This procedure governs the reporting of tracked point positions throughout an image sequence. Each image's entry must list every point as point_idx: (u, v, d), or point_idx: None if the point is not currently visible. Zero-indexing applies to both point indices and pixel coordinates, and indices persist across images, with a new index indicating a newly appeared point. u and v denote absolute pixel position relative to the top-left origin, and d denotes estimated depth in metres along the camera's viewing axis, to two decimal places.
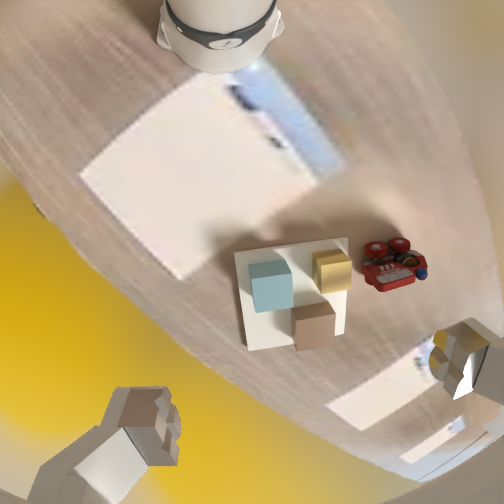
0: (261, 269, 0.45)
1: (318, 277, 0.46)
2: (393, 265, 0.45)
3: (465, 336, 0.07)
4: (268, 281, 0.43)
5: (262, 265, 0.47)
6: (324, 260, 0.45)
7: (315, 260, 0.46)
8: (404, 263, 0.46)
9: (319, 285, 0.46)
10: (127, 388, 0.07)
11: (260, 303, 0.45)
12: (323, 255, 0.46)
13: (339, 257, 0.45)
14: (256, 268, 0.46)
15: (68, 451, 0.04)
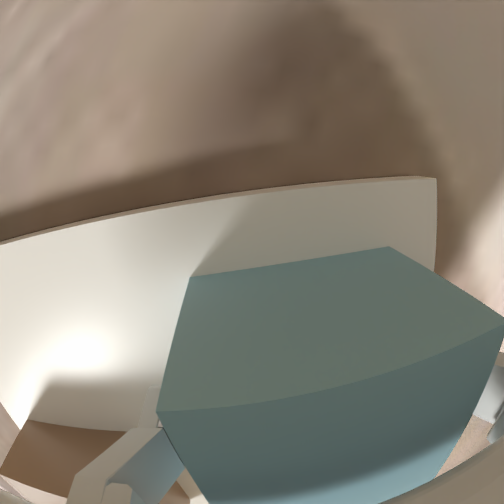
0: None
1: None
2: None
3: None
4: (448, 425, 0.04)
5: None
6: None
7: None
8: None
9: None
10: None
11: (283, 439, 0.04)
12: None
13: None
14: None
15: (103, 456, 0.04)
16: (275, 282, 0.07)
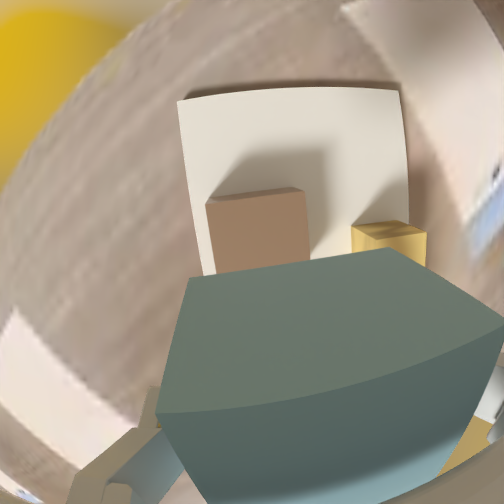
0: None
1: (390, 231, 0.22)
2: None
3: None
4: (449, 426, 0.04)
5: None
6: None
7: (402, 224, 0.24)
8: None
9: (381, 235, 0.22)
10: None
11: (282, 441, 0.04)
12: None
13: None
14: None
15: (103, 456, 0.04)
16: (275, 283, 0.07)
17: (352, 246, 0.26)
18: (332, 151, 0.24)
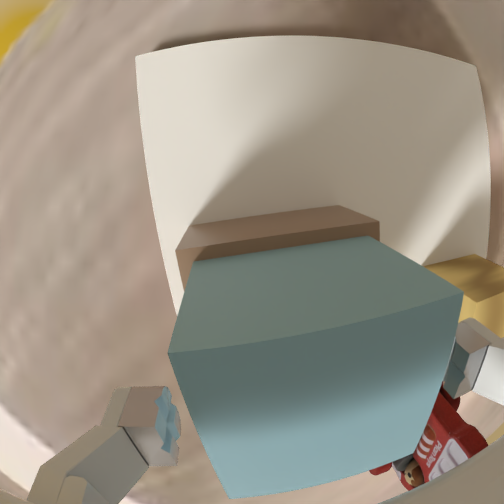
0: None
1: (484, 281, 0.12)
2: None
3: (465, 336, 0.07)
4: (419, 388, 0.06)
5: None
6: None
7: (489, 263, 0.13)
8: None
9: (477, 289, 0.11)
10: (127, 388, 0.07)
11: (268, 381, 0.05)
12: None
13: None
14: None
15: (67, 451, 0.04)
16: (266, 263, 0.08)
17: None
18: (401, 146, 0.13)
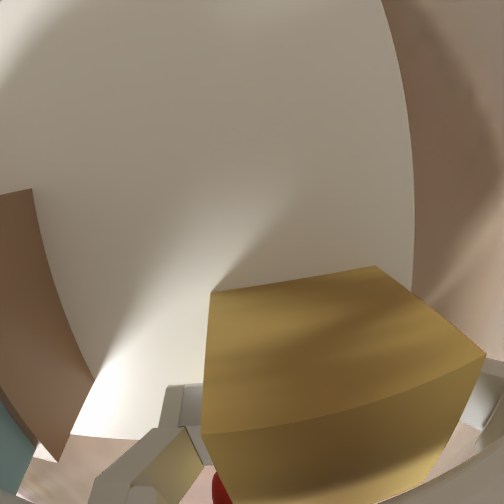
0: None
1: (326, 351, 0.05)
2: None
3: None
4: None
5: None
6: None
7: (392, 292, 0.07)
8: None
9: (266, 382, 0.05)
10: (180, 386, 0.07)
11: None
12: None
13: None
14: None
15: (123, 458, 0.05)
16: None
17: None
18: (133, 65, 0.06)
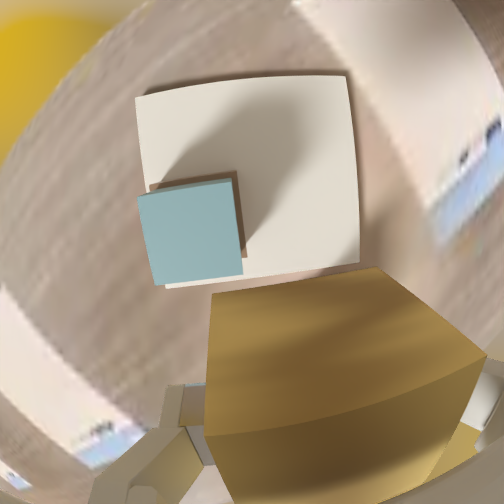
0: (234, 205, 0.21)
1: (328, 353, 0.05)
2: None
3: None
4: (223, 222, 0.18)
5: None
6: None
7: (393, 294, 0.07)
8: None
9: (269, 383, 0.05)
10: (180, 385, 0.07)
11: (163, 207, 0.18)
12: None
13: None
14: (233, 195, 0.21)
15: (123, 458, 0.05)
16: None
17: None
18: (274, 136, 0.25)
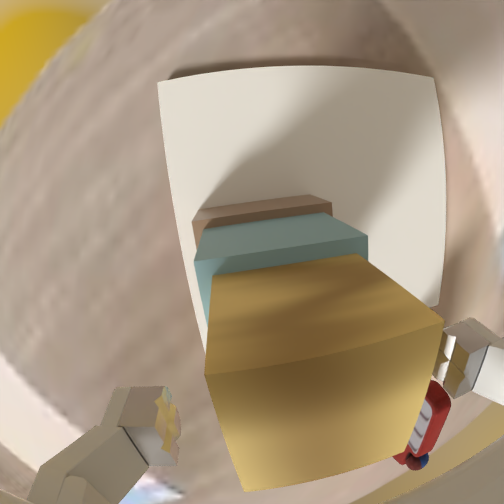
0: None
1: (306, 316, 0.06)
2: None
3: (465, 336, 0.07)
4: None
5: None
6: None
7: (367, 274, 0.08)
8: None
9: (257, 337, 0.06)
10: (127, 388, 0.07)
11: None
12: None
13: None
14: None
15: (67, 451, 0.04)
16: (250, 227, 0.13)
17: None
18: (360, 149, 0.18)
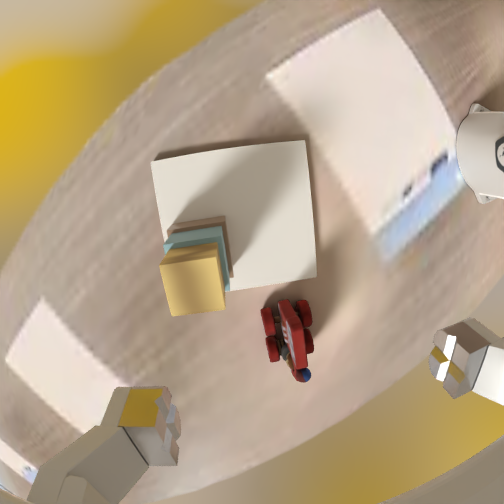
0: None
1: (186, 256, 0.26)
2: None
3: (465, 336, 0.07)
4: None
5: (224, 245, 0.34)
6: (218, 262, 0.27)
7: (211, 247, 0.28)
8: None
9: (172, 260, 0.26)
10: (127, 388, 0.07)
11: None
12: (219, 261, 0.29)
13: (222, 287, 0.28)
14: None
15: (67, 451, 0.04)
16: (188, 233, 0.33)
17: None
18: (251, 190, 0.37)
